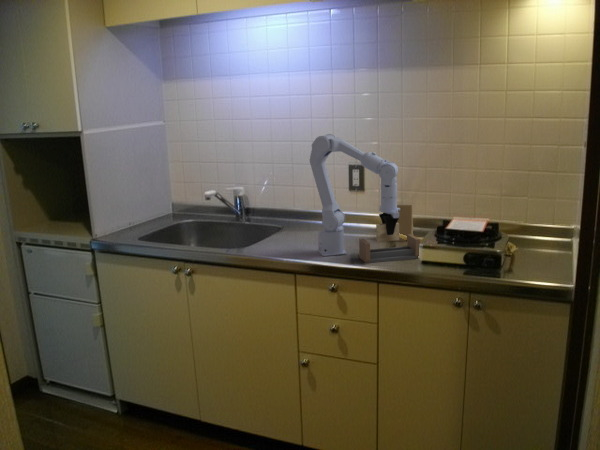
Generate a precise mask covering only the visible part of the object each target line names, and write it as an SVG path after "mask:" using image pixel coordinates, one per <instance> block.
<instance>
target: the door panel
mask: <svg viewBox="0 0 600 450" xmlns="http://www.w3.org/2000/svg"><path fill="white" fill-rule="evenodd" d="M375 230H376V231H375V232H376V234H375V235H376V241H377V242H378V243H381V242H395V241H394V240H399V223H396V226H395V230H394V234H393V235H387V231H386V224H382V223H380V224H379V223H378V224H377V223H376V225H375Z"/></svg>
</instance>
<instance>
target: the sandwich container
mask: <svg viewBox="0 0 600 450" xmlns="http://www.w3.org/2000/svg"><path fill="white" fill-rule="evenodd" d="M397 208H400V210H399V211H398V212H399V219H398V221H397V223H399V233H400V234H403V235H406V236H407V234H412V235H413V236H414V234H413V231H415V230H414V222H413V221H414V220H413V205H412V204H397ZM393 242H407V241H406V240H404V239H402V238H400V237H399V240H394V241H393Z"/></svg>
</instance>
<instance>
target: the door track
mask: <svg viewBox="0 0 600 450" xmlns="http://www.w3.org/2000/svg"><path fill="white" fill-rule="evenodd" d="M358 240H359V241H358V243H359V244H358V245H359V246H358V247H359V248H358V249H359V251H358V252H359V254H358V255H359V256H358V257H359V259H361V260H362V261H363V262H364V263H365V264H371V263H381V262H383V263H384V262H385V263H386V262H395V261H403V260H404V261H405V260H414V259H419V258H418V256H419V244H420V245H421V239H420V238H419V237H417V236H415V235H414V234H413V235H412V234H407V241H406V245H405V246H392V247H383V248H374V249H372V248H371V242H369V241H367V240H366V239H365V238H359V239H358Z"/></svg>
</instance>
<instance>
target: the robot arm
mask: <svg viewBox="0 0 600 450" xmlns="http://www.w3.org/2000/svg"><path fill="white" fill-rule="evenodd" d="M334 152H335V153H336V152H341V153H343V154H345V155H347V156H349V157H352V158H354V159H356V160H357V161H360V164H361V166H362V167H364V168H365V169H367V170H368V171H371V172H372V173H374V174H376V175H379V176H378V177H379V178H380V205H378V207H379V211H380V212H381V213H379V214H378V216H379V218H380V220H381V224H386V231H387V235H393V234H394V230H395V226H396V223H397V221H398V219H399V212H398V211H399V210H400V208H397V205H398V183H397V182H398V179H397V176H398V174H399V167H398V165H397V164H396V163H395V162H394V161H389V160H388V159H386V158H382V157H381V156H378V155H377V152H375V151H373V152H371V151H368V152H364V151H362V150H360V149H359V148H357V147H356V146H354V145H352V144H351V143H349V142H347V141H346V140H344V139H342V138H341V137H339V136H336V135H334V134H331V133H328V134H325V135H319V136H317V137H316V138H315V139H314V141H312V143H311V152H310V156H309V164H310V168H311V171H312V174H313V177H314V178H313V179H314V182H315V184H316V188H317V192H318V195H319V198H320V202H321V206H322V209H321V216H322V218H321V219H322V220H321V225H322V227H323V230H319V231H318V233H317V241H318V243H317V245H318V246H317V247H318V251H317V252H318V253H320V255H321V256H322V257H330V256H339V255H347V254H348V251H346V250H345V244H344V243H345V240H344V239H345V236H344V234H345V233H344V226H343V224H345V222H346V215H345V213H344V212H343V211H342V209H341V207H340V205H339V203H337V201H336V197H335V193H334V190H333V187H332V182H331V179H330V176H329V173H328V169H327V166H326V165H327V164H326V160H327V158H329V155H331V154H332V153H334Z"/></svg>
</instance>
